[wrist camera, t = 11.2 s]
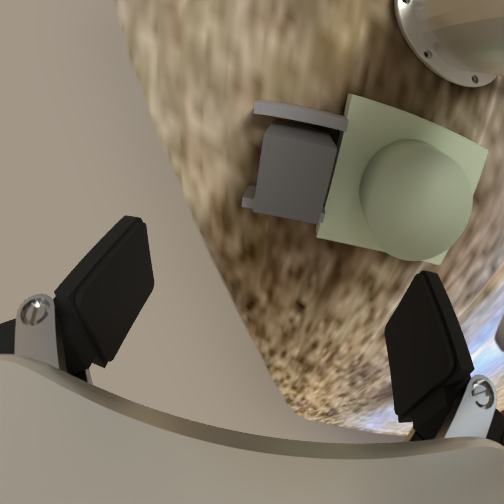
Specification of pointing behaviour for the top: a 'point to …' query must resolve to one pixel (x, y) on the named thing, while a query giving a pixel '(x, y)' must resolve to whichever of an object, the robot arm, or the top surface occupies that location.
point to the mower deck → (365, 144)
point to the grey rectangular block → (294, 172)
